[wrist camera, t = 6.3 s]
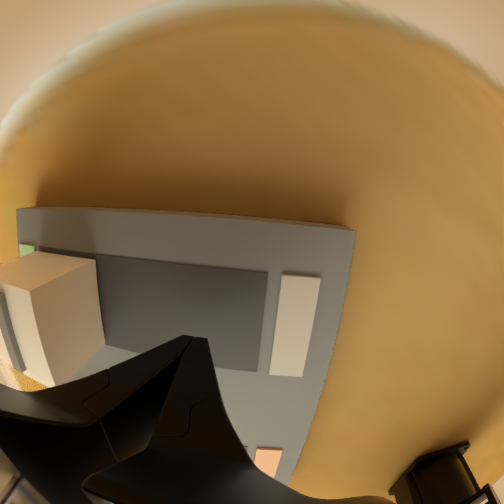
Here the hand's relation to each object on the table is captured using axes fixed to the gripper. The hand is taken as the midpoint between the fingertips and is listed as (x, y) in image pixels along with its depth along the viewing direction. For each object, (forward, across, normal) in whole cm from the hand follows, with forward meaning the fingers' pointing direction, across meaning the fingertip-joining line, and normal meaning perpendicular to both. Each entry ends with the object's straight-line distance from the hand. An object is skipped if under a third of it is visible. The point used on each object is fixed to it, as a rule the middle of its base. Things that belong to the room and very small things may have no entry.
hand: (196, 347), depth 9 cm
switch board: (+3, +3, +5) cm, 7 cm away
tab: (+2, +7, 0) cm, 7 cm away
